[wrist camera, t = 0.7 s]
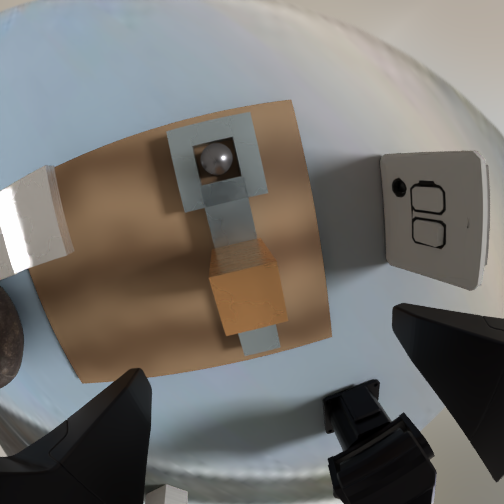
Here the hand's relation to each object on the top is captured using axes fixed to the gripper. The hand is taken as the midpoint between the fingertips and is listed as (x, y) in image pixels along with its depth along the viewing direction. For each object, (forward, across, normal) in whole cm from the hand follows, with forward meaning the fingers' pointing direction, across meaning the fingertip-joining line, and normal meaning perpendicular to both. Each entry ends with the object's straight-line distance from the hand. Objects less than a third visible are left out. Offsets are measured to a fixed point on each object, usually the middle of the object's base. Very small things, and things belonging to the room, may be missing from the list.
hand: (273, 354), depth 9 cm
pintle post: (+12, 0, -7) cm, 14 cm away
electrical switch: (+13, -15, -1) cm, 20 cm away
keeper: (+12, +15, -7) cm, 20 cm away
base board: (+13, +6, -1) cm, 14 cm away
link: (+11, 0, -1) cm, 12 cm away
